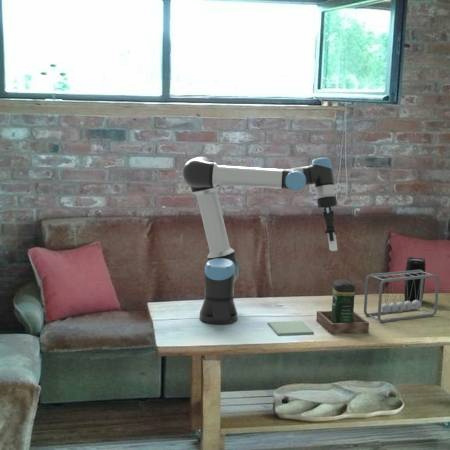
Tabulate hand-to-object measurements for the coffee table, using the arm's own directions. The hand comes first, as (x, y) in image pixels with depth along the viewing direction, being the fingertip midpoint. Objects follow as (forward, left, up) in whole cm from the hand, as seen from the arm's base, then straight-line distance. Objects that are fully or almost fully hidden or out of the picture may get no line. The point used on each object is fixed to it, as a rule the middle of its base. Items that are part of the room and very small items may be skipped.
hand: (333, 250), depth 273 cm
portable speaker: (+48, +25, -29) cm, 62 cm away
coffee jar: (+2, -6, -29) cm, 30 cm away
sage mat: (-19, -6, -29) cm, 35 cm away
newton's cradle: (+32, +5, -30) cm, 44 cm away
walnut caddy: (+2, -6, -29) cm, 30 cm away
